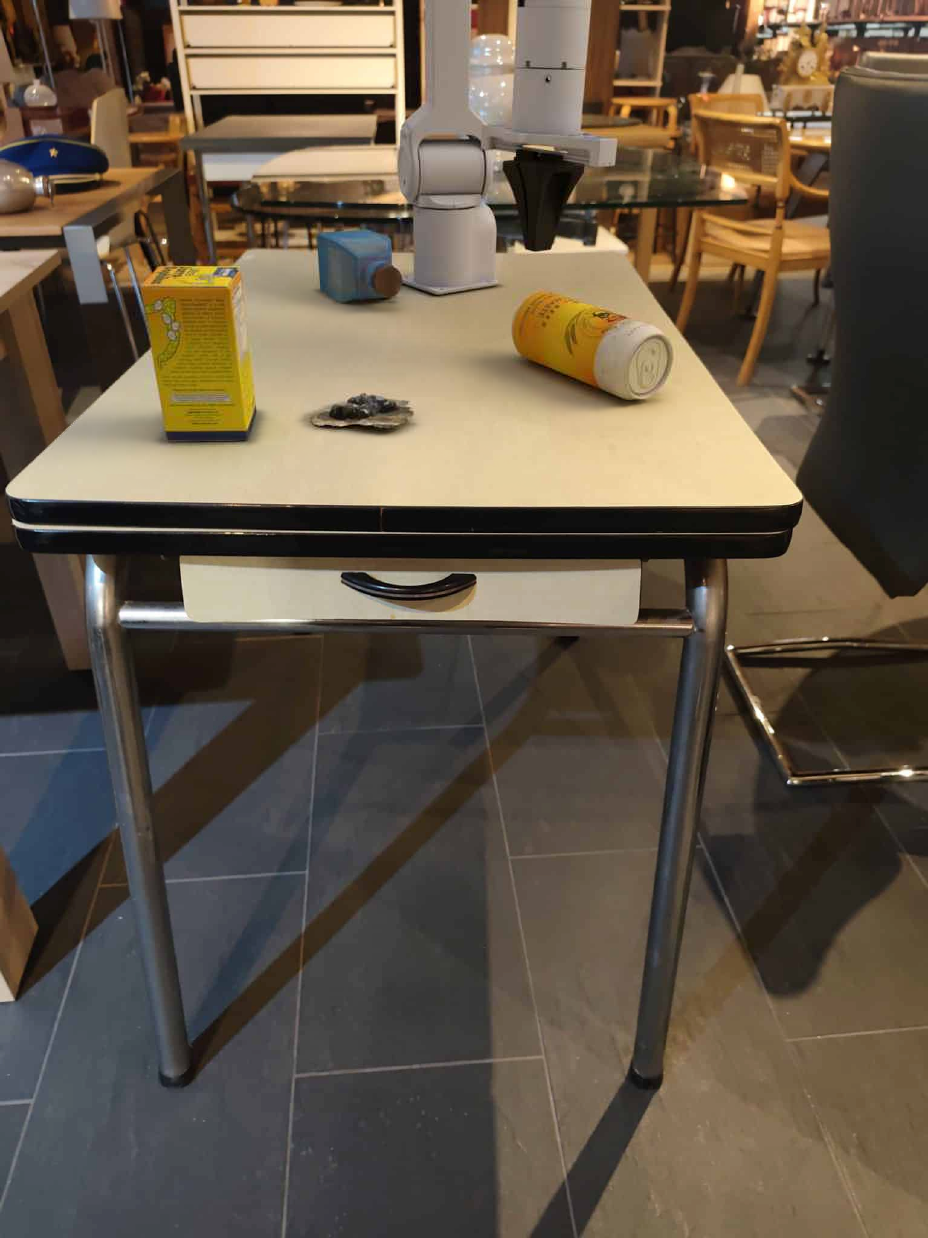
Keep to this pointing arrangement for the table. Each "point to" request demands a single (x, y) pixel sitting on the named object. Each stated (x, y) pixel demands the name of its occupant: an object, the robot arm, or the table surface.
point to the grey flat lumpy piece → (365, 412)
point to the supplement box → (200, 352)
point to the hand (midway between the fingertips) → (538, 249)
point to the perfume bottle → (357, 266)
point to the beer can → (593, 345)
